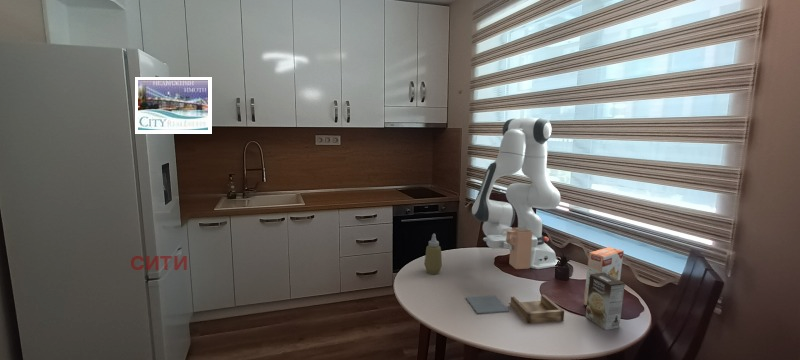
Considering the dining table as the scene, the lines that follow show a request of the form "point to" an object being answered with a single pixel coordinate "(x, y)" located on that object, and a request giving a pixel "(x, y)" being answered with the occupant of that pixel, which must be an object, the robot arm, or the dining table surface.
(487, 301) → the coaster
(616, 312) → the coffee box
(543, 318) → the tray
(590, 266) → the cracker box
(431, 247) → the squeeze bottle
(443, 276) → the dining table surface
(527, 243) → the jug
